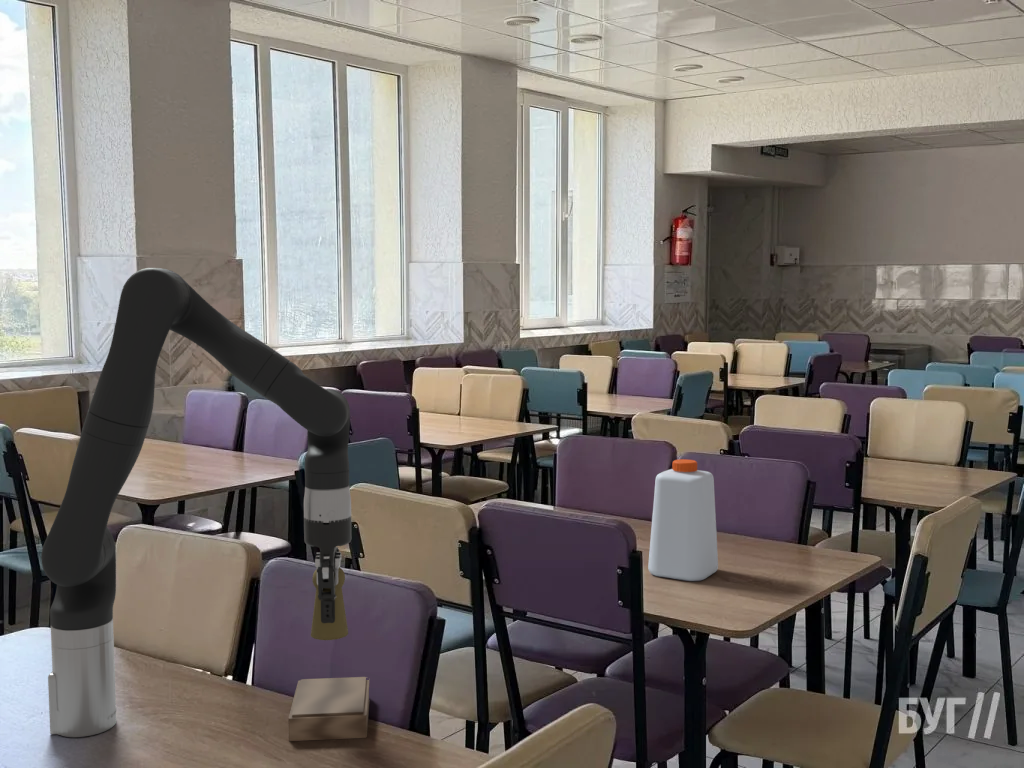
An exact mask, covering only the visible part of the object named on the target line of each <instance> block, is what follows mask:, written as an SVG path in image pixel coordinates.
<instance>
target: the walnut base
mask: <svg viewBox="0 0 1024 768" xmlns="http://www.w3.org/2000/svg"><path fill="white" fill-rule="evenodd" d="M366 678H367V676H356V677H355V676H353V677H331V678H330V677H326V678H301V679H300V680H297V683H296V684H297V685H296V689H295V691H294V696H293V700H292V704H291V706H290V707H291V708H290V712H289V715H288V741H289V742H297V741H298V742H299V741H318V740H319V741H321V740H344V739H345V740H346V739H347V740H348V739H366V738H367V736H368V725H369V711H370V700H369V687H370V679H369V680H366Z"/></svg>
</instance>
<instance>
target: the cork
mask: <svg viewBox="0 0 1024 768" xmlns="http://www.w3.org/2000/svg"><path fill="white" fill-rule="evenodd" d="M311 579H312V585H313V587H314V588H315V595H314V603H313V612H312V613H313V614H312V620H311V621H312V622H311V629H310V637H311V638H312V639H315V640H320V641H333V640H339V639H340V640H341V639H343V638H346V637H347V636H348V635H349V630H348V629H349V628H348V621H347V615H346V614H347V613H346V608H345V602H344V595H343V594H344V593H343V586H344V585H345V581H346V574H345V572H344V570H343V568H341V567H340V568H339V582H338V584H337V585H336V586H335V594H336V598H335V622H334V623H322V622H321V601H320V600H319V598H318V595H319V592H318V585H317V568H316V569H315V570H314V572H313V574H312V578H311ZM334 579H335V574H334ZM323 592H331V589H330V588H323Z"/></svg>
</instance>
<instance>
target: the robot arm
mask: <svg viewBox="0 0 1024 768" xmlns="http://www.w3.org/2000/svg"><path fill="white" fill-rule="evenodd" d="M170 331H171V332H173V333H176V334H177V335H180V336H182V337H184V338H185V339H188V340H189V341H191V342H192V343H194V344H196V345H197V346H198V347H200V348H201V349H203V350H204V351H206V353H208V354H209V355H210V356H211V357H213V358H214V359H215V360H216V361H217V362H219V364H221V365H222V366H223V368H225V369H226V370H227V371H228V372H229V373H230V374H231V375H233V376H234V377H235V378H236V379H237V380H239V381H240V382H242V383H243V384H244V385H246V386H247V387H249V388H250V389H252V390H253V391H254V392H256V393H258V394H259V395H261V396H262V397H263V398H264V399H267V400H268V401H269V402H272V403H273V404H275V405H276V406H278V407H279V408H280V409H281V410H282V411H283V412H284V413H285V414H287V415H288V416H289V417H290V418H291V419H292V420H293V421H295V422H296V423H297V424H298V425H300V426H301V427H302V428H304V429H305V430H306V431H307V452H306V455H305V461H304V497H303V534H304V535H303V537H304V539H303V540H304V543H305V544H306V545H307V546H309V547H313V548H314V547H316V548H319V552H316V556H315V557H314V566H315V568H316V569H317V585H318V592H319V595H318V598H319V600H320V601H321V622H322V623H334V622H335V598H336V594H335V586H336V585H337V584H338V582H339V568H341V563H342V552H341V551H340V549H339V547H342V546H345V545H346V546H347V545H348V544H349V543H351V542H352V495H351V490H350V489H351V488H350V462H349V441H350V424H351V423H350V422H351V420H350V419H351V414H350V413H351V412H350V411H351V409H350V404H349V402H348V399H347V397H346V396H345V395H344V394H343V393H342V392H340V391H338V390H337V389H334V388H325V387H323V386H322V385H320V384H318V383H317V382H316V381H314V380H312V379H311V378H310V377H308V376H307V375H305V374H304V372H303V370H302V369H301V368H300V367H299V366H298V365H296V364H295V363H294V362H293V361H291V360H290V359H289V358H287V357H286V356H284V355H282V354H281V353H280V352H278V351H277V350H275V349H273V348H272V347H270V346H269V345H268V344H266V343H264V342H263V341H261V340H260V339H259V338H257V337H255V336H254V335H252V334H251V333H249V332H247V331H245V330H244V329H243V328H241V327H240V326H238V325H237V324H236V323H234V322H232V321H231V320H230V319H228V318H227V317H226V316H225V315H223V314H222V313H221V312H220V311H218V310H217V309H216V308H214V306H212V305H211V304H210V303H208V301H206V300H205V298H203V297H202V295H200V294H199V293H198V291H196V290H195V289H194V288H193V287H192V286H191V285H190V284H189V283H187V281H186V280H185V279H183V277H182V276H181V275H180V274H179V273H177V272H175V271H173V270H171V269H167V268H160V267H146V268H142V269H139V270H138V271H137V270H136V271H135V272H134V273H132V274H131V276H130V277H129V278H127V279H126V281H125V283H124V285H123V287H122V289H121V292H120V298H119V302H118V308H117V313H116V319H115V323H114V330H113V332H112V333H113V334H112V339H111V344H110V346H109V350H108V353H107V357H106V360H105V362H104V364H103V367H102V370H101V373H100V374H99V376H98V377H99V378H98V380H97V384H96V386H95V389H94V393H93V395H92V398H91V401H90V404H89V407H88V410H87V413H86V416H85V419H84V423H83V426H82V428H81V434H80V436H79V440H78V441H79V442H78V444H77V448H76V451H75V456H74V459H73V461H72V466H71V470H70V474H69V479H68V481H67V482H68V483H67V485H66V490H65V493H64V496H63V499H62V502H61V504H60V507H59V509H58V511H57V513H56V515H55V518H54V521H53V522H52V525H51V527H50V529H49V531H48V534H47V536H46V539H45V541H44V543H43V547H42V549H41V556H40V558H41V565H42V569H43V571H44V574H45V575H46V577H47V578H48V579H49V580H50V581H51V582H52V583H54V584H55V585H56V590H55V595H54V598H53V601H52V604H51V607H50V608H49V609H50V610H49V618H50V620H49V623H50V645H51V669H52V671H51V672H50V673H49V674H48V676H47V686H48V687H47V688H48V710H49V711H48V713H49V734H50V735H59V736H62V737H67V738H83V737H89V736H94V735H98V734H101V733H103V732H107V731H108V730H110V729H112V728H113V727H114V726H115V725H116V723H117V702H116V701H117V700H116V697H117V695H116V671H115V665H116V664H115V639H114V613H113V612H114V603H115V600H116V593H117V553H116V551H117V550H116V544H115V539H114V536H113V534H112V532H111V531H110V529H109V527H108V523H109V519H110V515H111V512H112V510H113V508H114V507H113V506H114V504H115V502H116V500H117V497H118V496H119V494H120V492H121V490H122V488H123V487H124V484H125V483H126V482H127V480H128V478H129V476H130V474H131V472H132V470H133V468H134V467H135V464H136V462H137V461H138V458H139V456H140V453H141V450H142V448H143V446H144V441H145V439H146V435H147V432H148V429H149V426H150V423H151V418H152V415H153V408H154V402H155V400H154V399H155V387H156V386H155V385H156V371H157V365H158V362H159V359H160V358H159V357H160V355H161V352H162V349H163V347H164V345H165V343H166V339H167V337H168V335H169V332H170ZM334 574H335V579H334ZM323 588H330V589H331V592H323Z"/></svg>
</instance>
